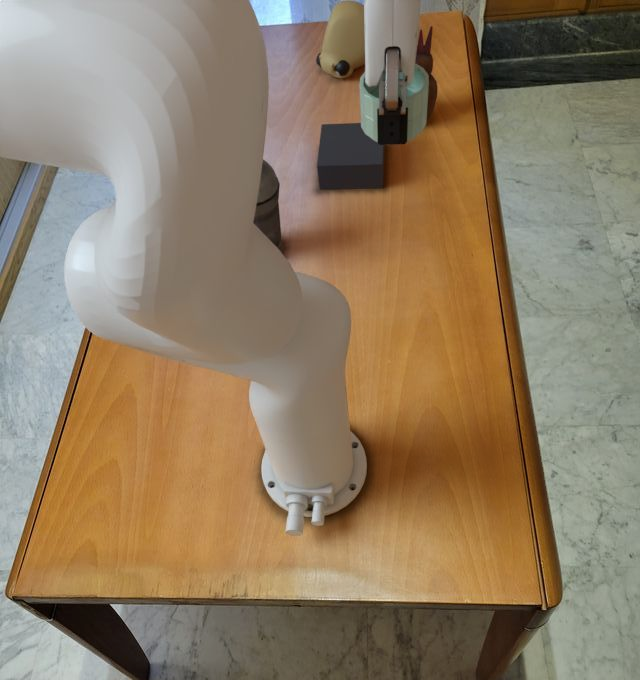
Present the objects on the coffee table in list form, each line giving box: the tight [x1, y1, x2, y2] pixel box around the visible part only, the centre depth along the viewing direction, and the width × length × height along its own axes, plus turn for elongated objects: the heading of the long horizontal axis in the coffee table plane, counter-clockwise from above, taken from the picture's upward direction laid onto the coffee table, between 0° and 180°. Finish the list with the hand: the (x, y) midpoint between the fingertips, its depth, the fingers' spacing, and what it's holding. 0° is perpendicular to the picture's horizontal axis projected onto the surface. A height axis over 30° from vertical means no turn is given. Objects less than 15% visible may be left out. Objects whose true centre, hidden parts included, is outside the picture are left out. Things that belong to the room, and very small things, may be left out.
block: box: [316, 122, 385, 191], centre depth 100 cm, size 10×10×4 cm
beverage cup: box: [253, 159, 283, 253], centre depth 86 cm, size 7×7×20 cm
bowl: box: [359, 64, 429, 143], centre depth 70 cm, size 7×7×6 cm
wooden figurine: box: [415, 26, 439, 122], centre depth 101 cm, size 7×6×15 cm
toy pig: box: [315, 0, 365, 79], centre depth 112 cm, size 10×12×11 cm
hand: (393, 118), depth 71 cm, fingers closed on bowl, 7 cm apart
